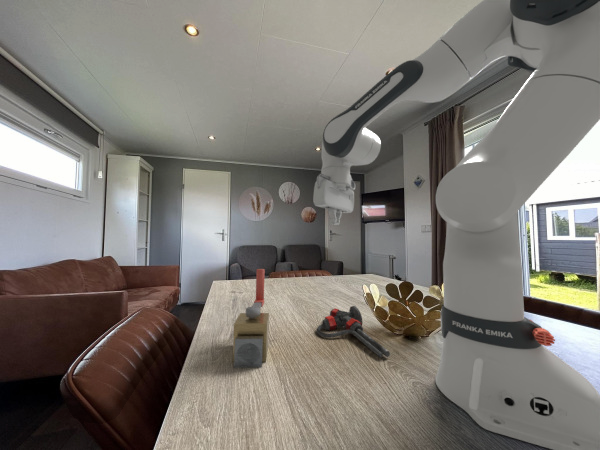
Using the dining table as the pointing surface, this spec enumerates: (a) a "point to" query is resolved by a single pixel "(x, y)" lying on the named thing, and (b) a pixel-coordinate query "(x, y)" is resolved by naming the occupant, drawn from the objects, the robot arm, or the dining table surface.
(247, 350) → the lever valve base
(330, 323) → the valve
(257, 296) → the lever
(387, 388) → the dining table surface
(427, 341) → the dining table surface
